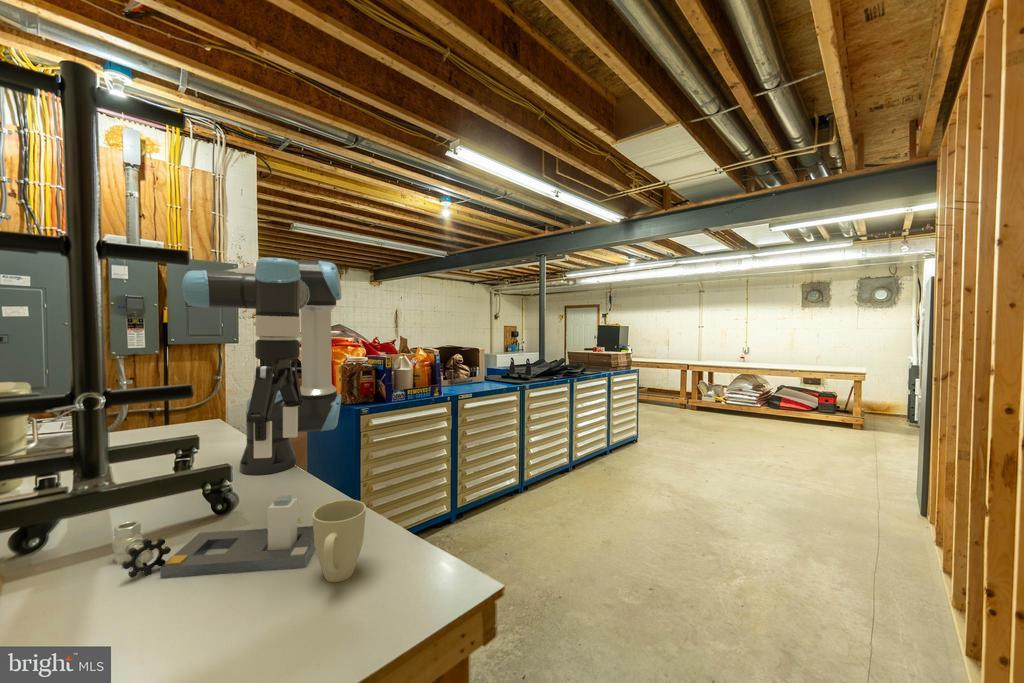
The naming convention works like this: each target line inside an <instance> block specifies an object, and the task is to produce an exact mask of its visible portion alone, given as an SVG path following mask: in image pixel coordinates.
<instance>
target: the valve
mask: <svg viewBox="0 0 1024 683" xmlns="http://www.w3.org/2000/svg"><path fill="white" fill-rule="evenodd" d="M141 524H142V523H141V522H140V521H139V520H129V521H125V522H122V523H120V524H118V525H116V526H114V529H113V533H114V534H113V535H114V539H113V540H112V550H113V551H114V561H115V562H116V563H117V564H119V565H120V564H121V568H123V570H128V569H130V568H132V570H131V571H130V570H129V571H128V573H127V575H128V576H129V578H132V579H133V578H136V577H137V576H138V574H140V572H141V573H142V575H143V576H145V577H149V576H151V575H152V574H153V570H152V569H153V568H154V567H156V566H158V567H159V568H160V567H161V566H162V565H163V564H165V563H166V562H167V561H166V560H165V559H163V557H164V555H168V554H170V553H171V551H172V549H171V548H170V547H169V546H167V545H165V543H166V539H164V538H163V537H159V538H158V539H156V543H153V540H152V539H150V538H144V537H143V534H142V532H141V531H142V527H141V526H142V525H141ZM162 546H164V548H163V547H162ZM155 549H156V550H157V551H158V553H157V557H156V559H155V560H154V561H153V562H151V561H152V560H153V559H154V552H153V551H154V550H155ZM137 560H138V561H139V562H140V563H141V565H142V566H138V565H137V563H136V562H137ZM149 562H151V563H150V564H148V563H149Z"/></svg>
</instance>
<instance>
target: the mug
mask: <svg viewBox="0 0 1024 683" xmlns="http://www.w3.org/2000/svg"><path fill="white" fill-rule="evenodd" d="M366 511H367V507H366V503H364V502H362V501H360V500H357V499H339V500H333V501H331V502H326V503H324V504H322V505H320V506H318V507H317V508H316V509H315V510H314V511H313V512H312V526H313V530H314V543H315V550H314V551H315V554H316V557H317V560H318V563H319V565H320V568H321V571H322V573H323V576H324V578H325V579H324V580H326V581H327V582H329V583H339V582H343V581H345V580H347V579H349V578H351V576H353V574H354V572H355V568H356V565H357V562H358V559H359V557H360V553H361V551H362V546H363V542H364V535H365V523H366Z"/></svg>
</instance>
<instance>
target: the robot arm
mask: <svg viewBox="0 0 1024 683" xmlns="http://www.w3.org/2000/svg"><path fill="white" fill-rule="evenodd" d="M181 283H182V284H181V285H182V286H181V288H182V289H181V290H182V296H183V299H184V301H185V303H187V304H188V305H189V306H191V307H194V308H196V307H197V308H205V309H210V308H211V309H212V308H213V309H215V308H216V309H217V308H218V309H248V310H249V309H251V310H255V320H254V321H253V323H252V324H253V326H254V327H255V337H258V338H259V339H256V341H255V342H254V343H255V345H254V346H255V347H254V354H255V355H254V356H255V358H256V359H257V360H263V361H264V365H262V366H261V365H259V366H255V376H254V384H253V389H252V392H251V396H250V397H249V398H248V399H247V402H246V411H245V414H246V421H245V422H246V424H245V425H246V445H245V447H244V450H243V454H242V456H241V459H240V461H239V472H240V473H242V474H244V475H251V476H252V475H253V476H257V475H258V476H259V475H269V474H270V475H271V474H276V473H280V472H283V471H285V470H288V469H291V468H293V467H294V466H295V465H296V463H297V455H296V453H295V450H294V448H293V445H292V442H291V439H292V438H298V437H299V436H298V435H299V434H298V433H301V432H303V433H304V432H324V431H331V430H332V431H333V430H335V429H336V428H337V426H338V422H339V417H340V410H341V405H342V394H341V393H337V387H336V386H334V385H333V384H332V383H333V381H332V380H333V379H332V310H333V309H335V307H337V301H340V300H342V287H341V280H340V274H339V270H338V267H337V265H336V264H335V263H334V262H333V263H332V262H329V261H325V260H324V261H322V260H308V259H307V260H306V259H293V258H292V259H290V258H289V259H288V258H284V257H283V258H280V257H261V258H259V259H256V261H254V262H250V263H248V264H246V265H245V266H244V267H238V268H232V269H225V270H218V271H217V270H206V269H203V270H188V271H187V272H186V273H185V274H184V275H183V278H182V282H181ZM299 337H300V341H299V339H298V338H299ZM300 346H301V348H300ZM300 351H301V352H300ZM300 354H301V355H300ZM300 356H301V361H300V362H301V384H300V381H299V376H298V375H299V374H298V371H297V370H298V369H297V368H298V364H297V363H298V362H297V360H296V359H299V358H300ZM293 465H294V466H293Z"/></svg>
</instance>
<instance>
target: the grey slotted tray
mask: <svg viewBox="0 0 1024 683" xmlns="http://www.w3.org/2000/svg"><path fill="white" fill-rule="evenodd" d="M223 549H227V550H226V551H225V552H223V553H212V554H205V553H207V551H208V550H223ZM315 551H316V550H315V543H314V530H313V525H309V526H307V525H306V526H297V543H296V545H295V546H294V548H293V549H283V550H268V528H258V529H257V528H256V529H255V528H253V529H241V530H222V531H208V532H207V531H205V532H199V533H198V534H196V535H194V537H193V538H192V539H191V540H190V541H188V542H187V543H186V544H185V545H184V546H182V547H181V549H179V550H178V551H177V552H176V553H175V554H174V555H172V556H171V557H170V558H168V560H167V561H166V563H165V564H163V565H162V566H161V567H159V570H160V571H159V572H160V573H159V575H160V576H159V577H160V579H166V578H168V579H169V578H181V577H194V576H209V575H220V574H223V575H224V574H232V573H235V574H237V573H246V572H247V573H249V572H261V571H273V570H286V569H287V570H288V569H299V568H300V569H301V568H306V567H307V565H308V563H309V561H310V560H311V558H312V556H313V554H314V553H315Z"/></svg>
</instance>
